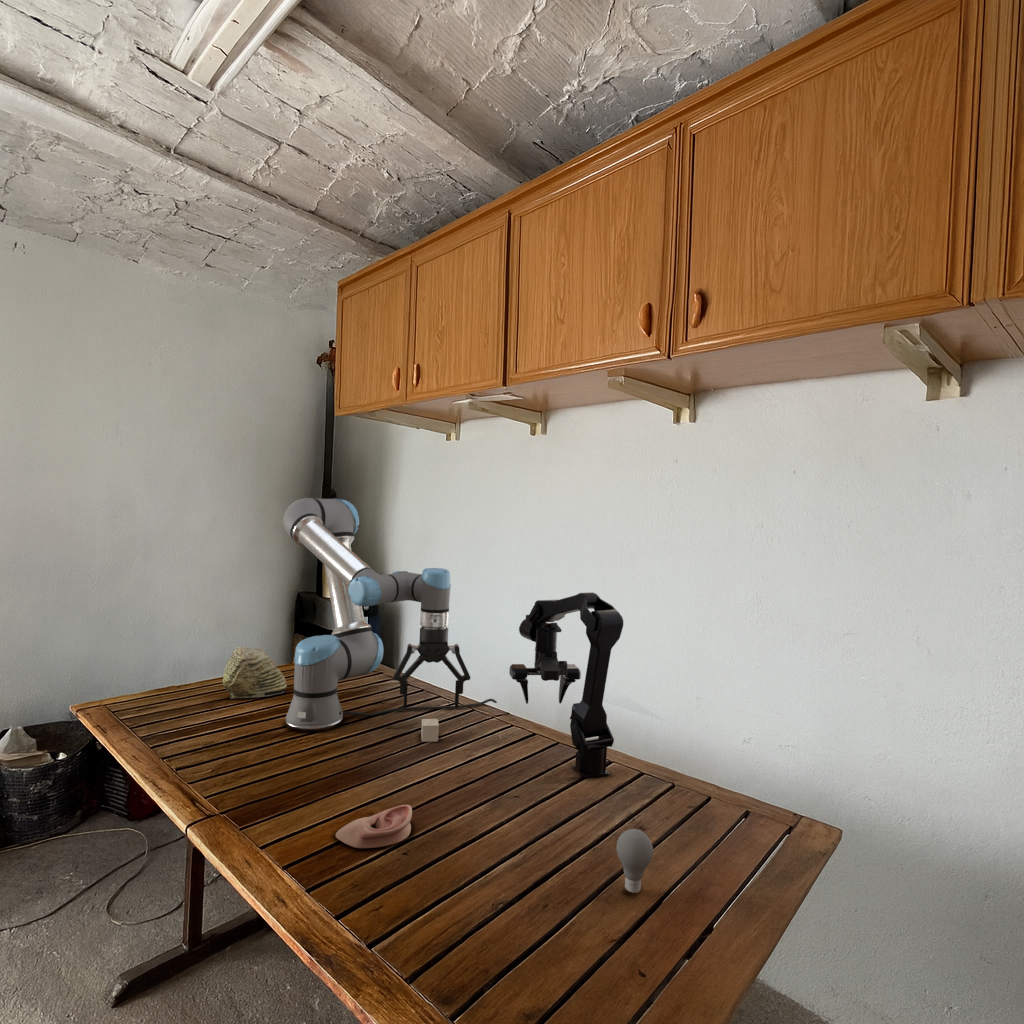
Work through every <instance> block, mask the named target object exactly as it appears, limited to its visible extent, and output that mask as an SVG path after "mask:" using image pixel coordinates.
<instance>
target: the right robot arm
mask: <svg viewBox="0 0 1024 1024" xmlns="http://www.w3.org/2000/svg"><path fill="white" fill-rule="evenodd" d="M592 609H593V610H592ZM576 612H579V619H580V621H581V622H582V623H583V625H584V626H585V635H586V637H587V639H588V642H589V644H590V645H589V652H588V657H587V659H588V660H587V665H586V671H585V678H584V685H583V691H582V697H581V701H579V702H575V703H573V704H572V706H571V714H570V717H569V720H570V724H569V728H570V734H571V742H572V746H574V749H575V750H576V752H575V763H574V765H573V768H574V769H575V770H576V771H577V772H578V773H579V774H580V775H581V776H582V777H584V778H585V779H589V778H597V777H604V776H610V772H609V771H608V770H607V753H608V748H610V747H611V748H612V747H613V746H614V745H613V744H614V742H615V738H614V736H613V734H612V731H611V729H610V727H609V724H608V722H607V721H608V715H607V711H606V709H605V707H604V705H603V702H604V696H605V691H606V685H607V677H608V672H609V666H610V660H611V653H612V649H613V648H614V646H615V645H616V644H617V643H618V641H619V640H620V639H621V635H622V632H623V628H624V624H625V623H624V619H623V616H622V615H621V613H620V612H619V610H617V609H616V607H614V606H613V605H612V604H610V603H609V602H607V601H605V600H603V599H602V598H601V597H600V596H599V595H598V594H597V593H595V592H591V591H590V592H579V593H577V594H575V595H571V596H568V597H563V598H560V599H539V600H536V601H535V602H534V604H533V606H532V608H531V610H530V612H529V614H526V615H525V618H524V619H523V620H522V621H521V623H520V625H519V627H518V632H519V634H520V636H521V637H522V638H524V639H526V640H528V641H531V642H534V643H535V647H534V651H535V652H534V664H533V665H534V667H527V666H526V665H525V664H524V663H512V664H510V666H509V670H508V671H509V676H510V677H511V679H512V680H514V681H516V683H519V684H520V688H521V691H522V694H523V697H524V698H523V699H524V702H525V704H526V705H527V704H529V687H528V685H529V680H528V676H540V678H541V680H542V681H545V682H548V681H554V682H558V681H559V688H558V703H559V704H562V702H563V700H564V698H565V695H566V693H567V691H568V688H569V687H570V685H571V684H572V683H575V682H576V681H577V680H581V676H582V672H581V669H580V668H579V667H578V666H577V665H576V664H575V663H568V661H567V660H559V659H558V652H557V646H558V633H562V631H563V630H562V628H561V627H560V626H559V625H558V621H560V620H562V619H564V618H565V617H566V615H568V614H572V613H576ZM555 621H557V622H555Z"/></svg>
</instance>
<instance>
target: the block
mask: <svg viewBox="0 0 1024 1024" xmlns="http://www.w3.org/2000/svg"><path fill="white" fill-rule="evenodd" d="M439 728H440V724H439V719H438V718H422V719H421V731H420V733H421V734H420V735H421V736H420V739H421V743H433V742H435V743H436V742H439V730H440V729H439Z"/></svg>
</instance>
